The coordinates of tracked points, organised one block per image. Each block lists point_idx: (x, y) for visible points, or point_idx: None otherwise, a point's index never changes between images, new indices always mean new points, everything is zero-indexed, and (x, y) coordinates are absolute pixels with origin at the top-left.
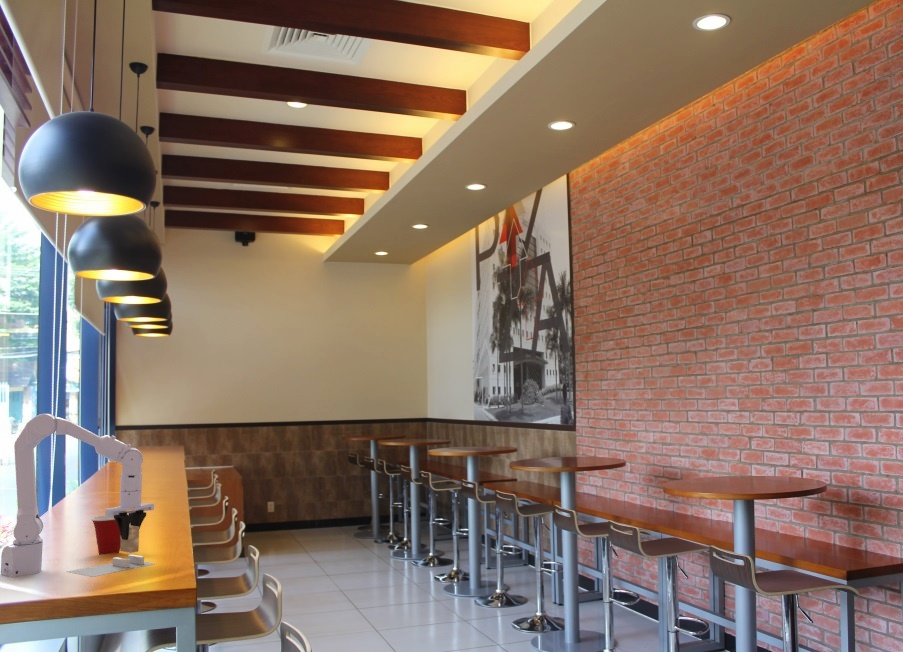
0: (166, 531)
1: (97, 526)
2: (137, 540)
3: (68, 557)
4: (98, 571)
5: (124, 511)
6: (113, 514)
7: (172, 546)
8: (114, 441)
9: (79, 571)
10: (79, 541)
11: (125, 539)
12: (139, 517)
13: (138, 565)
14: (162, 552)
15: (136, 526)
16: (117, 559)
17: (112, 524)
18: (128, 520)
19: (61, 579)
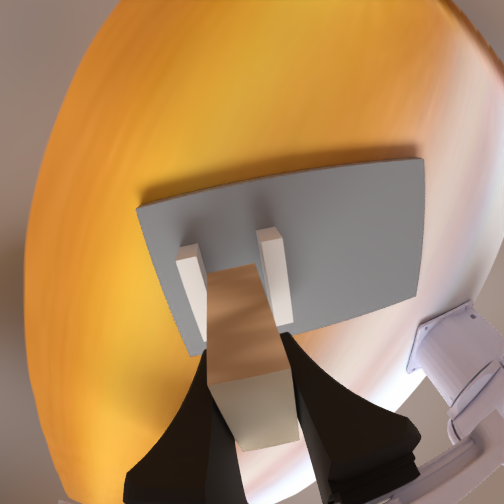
0: (78, 477)
1: (246, 500)
2: (217, 308)
3: (281, 448)
4: (376, 228)
5: (398, 499)
6: (457, 448)
7: (61, 421)
8: None
9: (402, 273)
10: None
11: (290, 335)
12: (207, 466)
13: (213, 227)
14: (80, 396)
15: (226, 398)
16: (289, 293)
17: None
18: (344, 425)
19: (439, 248)
